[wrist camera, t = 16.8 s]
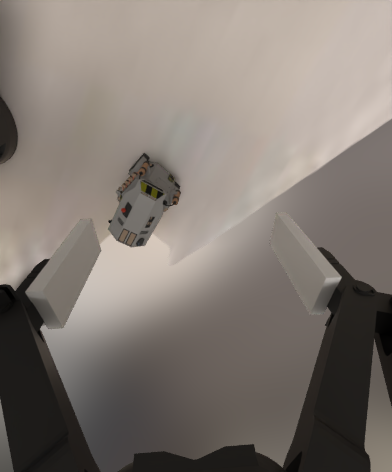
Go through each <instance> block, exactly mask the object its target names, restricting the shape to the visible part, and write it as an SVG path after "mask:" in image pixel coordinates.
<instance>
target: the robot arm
mask: <svg viewBox="0 0 392 472" xmlns="http://www.w3.org/2000/svg"><path fill="white" fill-rule="evenodd" d="M16 145H17V131H16V126H15V123H14V120H13V117H12V115H11V113H10V111H9V109H8V107H7V106H6V104H5V103H4V101H3V100H2V98H1V97H0V164H1V163H3V162H5V161H7V160H8V159H9V158H10V157H11V156H12V155H13V153H14V151H15V148H16ZM270 245H271V247H272V249H273V251H274V253H275V254H276V256H277V258H278V259H279V261H280V263H281V265H282V267H283V268H284V270H285V272H286V274H287V275H288V277H289V279H290V281H291V282H292V284H293V286H294V287H295V289H296V291H297V293H298V295H299V296H300V298H301V300H302V302H303V303H304V305H305V307H306V309H307V310H308V312H309V314H310V315H312V314H314V315H315V314H324V312H325V310H326V308H327V307H328V308H329V310H330V311H331V315H330V317H329V318H328V320H327V322H326V324H325V326H327V327H326V330H325V334H324V337H323V340H322V344H321V347H320V350H319V354H318V357H317V360H316V364H315V367H314V371H313V374H312V378H311V381H310V384H309V388H308V391H307V394H306V398H305V401H304V405H303V408H302V411H301V415H300V418H299V421H298V425H297V429H296V432H295V435H294V438H293V441H292V444H291V446H290V449H289V451H288V453H287V456H286V459H285V462H284V465H283V468H282V467H281V466H280V465H279V464H277V463H276V462H275V461H273V460H272V459H270V458H268V457H267V456H264V455H262V454H260V453H257V452H255V448H254V444H252V445H239V446H226V447H223V448H221V449H219V450H217V451H214V452H212V453H210V454H208V455H206V456H204V457H202V458H199V459H197V460H192V459H189V458H185V457H182V456H178V455H174V454H171V453H168V452H164V451H163V452H151V453H138V454H134V461H133V462H132V463H130V464H128V465H127V466H125V467H123V468H122V469H121V470H119V471H118V472H370V459H369V455H368V454H367V453H366V452H365V448H364V442H365V431H366V419H367V409H368V398H369V387H370V376H371V365H372V355H373V345H374V339H375V342H376V347H377V350H378V354H379V358H380V362H381V366H382V370H383V374H384V378H385V382H386V385H387V390H388V394H389V398H390V402H391V406H392V295H390V294H384V293H379V292H376V290H375V289H374V288H373V287H371V286H370V285H369V284H366V283H364V282H362V281H358V280H355V279H354V278H353V277H352V276H351V275H350V274H349V273H348V272H347V271H346V269H345V268H344V267H343V266H342V265H341V264H339V262H338V261H337V260H336V259H335V257H334V256H333V255H332V254H331V253H330V252H329V251H327V250H325V249H324V248H322V247H321V248H316V246H315V245H314V244H313V243H312V242H311V241H310V239H309V238H308V237H307V236H306V235H305V234H304V232H303V231H302V230H301V229H300V228H299V227H298V225H297V224H296V223H295V222H294V221H293V220H292V218H291V217H290V216H289V215H288V214H287V213H276V217H275V221H274V226H273V230H272V235H271V239H270ZM100 252H101V248H100V245H99V241H98V238H97V235H96V231H95V228H94V225H93V222H92V219H80V221H79V222H78V223H77V225H76V226H75V227H74V229H73V230H72V231H71V233H70V234H69V235H68V236H67V238H66V239H65V240H64V242H63V243H62V244H61V246H60V247H59V248H58V250H57V251H56V252H55V253H54V255H53V256H52V257H51V259H44V260H43V261H42V262H40V263H39V264H37V265H36V266H35V267H34V269H33V270H32V271H31V273H30V274H29V275H28V276H27V278H26V279H25V280H24V281H23V282H22V283H21V285H20V286H19V287H18V288H17V290H16V291H14V289H13V288H12V287H11V286H10V285H6V284H4V285H0V399H1V405H2V409H3V415H4V421H5V426H6V431H7V436H8V442H9V448H10V452H11V458H12V464H13V469H14V472H100V470H99V467H98V466H97V464H96V462H95V460H94V458H93V456H92V454H91V452H90V449H89V447H88V444H87V442H86V440H85V437H84V434H83V432H82V430H81V427H80V425H79V422H78V420H77V417H76V415H75V412H74V410H73V407H72V405H71V402H70V400H69V398H68V395H67V393H66V390H65V388H64V385H63V383H62V380H61V378H60V375H59V373H58V370H57V369H56V366H55V363H54V361H53V358H52V356H51V354H50V351H49V348H48V346H47V344H46V341H45V339H44V336H43V334H42V332H41V330H40V328H41V326H42V324H43V322H44V323H45V325H46V326H47V328H48V329H56V328H64V325H65V324H66V322H67V320H68V318H69V315H70V313H71V311H72V309H73V307H74V305H75V303H76V301H77V299H78V297H79V295H80V293H81V291H82V289H83V287H84V285H85V283H86V281H87V278H88V276H89V275H90V273H91V270H92V268H93V266H94V264H95V262H96V260H97V258H98V256H99V254H100Z"/></svg>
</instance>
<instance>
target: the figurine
mask: <svg viewBox="0 0 392 472" xmlns="http://www.w3.org/2000/svg"><path fill="white" fill-rule="evenodd" d="M148 159H149V157H148V156H147V155H146V154H145V153H144V154H143V155H142V156H141V157H140V158H139V160H138V161H137V162H136V163H135V164H134V165H133V167H132V168H131V169H130V170H129V173H128V174H129V175H130V177H129V178H128V180H126V181H125V183H123V185H122V187H119V189H118V190H117V191H116V193H117V194H118V201H120V204H119V206H118V208H117V211H116V213H115V215H114V217H113V219H112V220H111V221H110V220H109V223H111V224H110V226H109V228H108V230H109V231H110V232H111V234H112V235H113V236H114V238H115V239H116V241H119V242H121V243H123V244H125V245H128V246H130V247H137V246H144V245H146V243H147V241H148V239H149V238H150V236H151V234H152V232H153V231H154V229H155V227H156V225H157V224H158V222H159V220H160V218H161V217H162V215H163V212H164V211H166V210H168V208H169V206H172V205H177V204H178V201H179V196H180V194H181V192H180V191H179V189H180V186H179V185H178V184H177V183H176V182H175V183H174V179H175V178H174V177H173V176H172V175H171V174H169V173H168V172H167V171H166V170H165V169H163V168H162V167H161V166H160V165H159V164H158V163H149V162H147V161H148ZM122 191H123V192H122ZM171 203H172V205H170V204H171Z"/></svg>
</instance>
